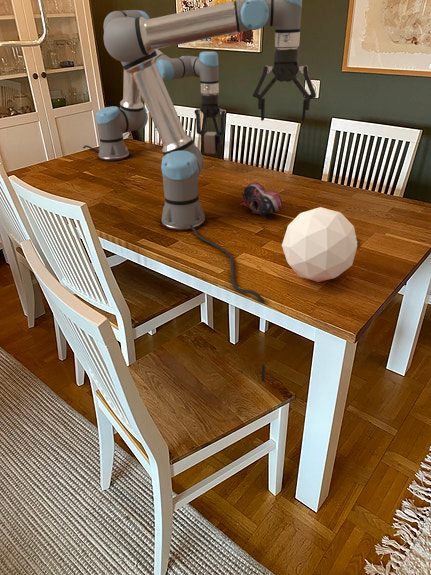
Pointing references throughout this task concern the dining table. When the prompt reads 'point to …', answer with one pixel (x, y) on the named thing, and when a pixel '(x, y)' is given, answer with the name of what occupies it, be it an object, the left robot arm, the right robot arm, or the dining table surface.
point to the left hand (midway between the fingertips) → (211, 150)
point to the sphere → (320, 244)
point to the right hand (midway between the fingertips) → (282, 120)
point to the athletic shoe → (261, 200)
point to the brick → (209, 143)
